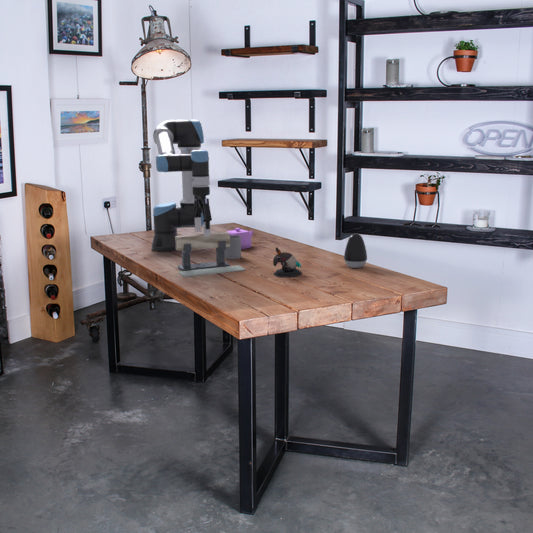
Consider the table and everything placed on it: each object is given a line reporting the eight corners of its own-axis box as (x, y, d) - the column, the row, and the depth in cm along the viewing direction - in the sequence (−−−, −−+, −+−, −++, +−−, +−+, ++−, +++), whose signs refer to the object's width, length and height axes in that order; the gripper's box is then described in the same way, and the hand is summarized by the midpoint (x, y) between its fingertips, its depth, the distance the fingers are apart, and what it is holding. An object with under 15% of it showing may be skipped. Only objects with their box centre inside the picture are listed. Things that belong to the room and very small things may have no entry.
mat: (178, 272, 279) (178, 271, 279) (238, 266, 289) (238, 265, 289) (183, 276, 272) (183, 275, 272) (245, 270, 282) (245, 269, 282)
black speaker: (368, 265, 289) (369, 231, 286) (364, 270, 280) (365, 236, 276) (346, 263, 293) (347, 230, 289) (341, 268, 283) (342, 234, 280)
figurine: (303, 276, 270) (303, 249, 268) (276, 278, 269) (274, 251, 266) (298, 270, 281) (297, 244, 278) (271, 272, 279) (270, 246, 277)
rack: (177, 268, 288) (176, 241, 285) (224, 263, 296) (223, 237, 293) (182, 271, 281) (181, 245, 278) (229, 266, 289) (229, 240, 286)
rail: (175, 249, 284) (175, 236, 282) (227, 244, 293) (226, 231, 291) (178, 251, 280) (177, 237, 279) (229, 246, 289) (229, 233, 288)
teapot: (248, 243, 341) (247, 224, 339) (258, 247, 333) (258, 227, 330) (218, 248, 331) (218, 228, 329) (229, 251, 323) (228, 231, 320)
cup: (238, 259, 304) (238, 238, 302) (221, 258, 306) (221, 238, 303) (242, 255, 312) (242, 235, 310) (226, 255, 314) (225, 235, 311)
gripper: (184, 184, 290) (186, 230, 294) (201, 189, 267) (202, 239, 272) (200, 183, 293) (202, 229, 297) (218, 188, 270) (219, 237, 275)
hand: (202, 234), depth 285 cm, fingers open, 13 cm apart
